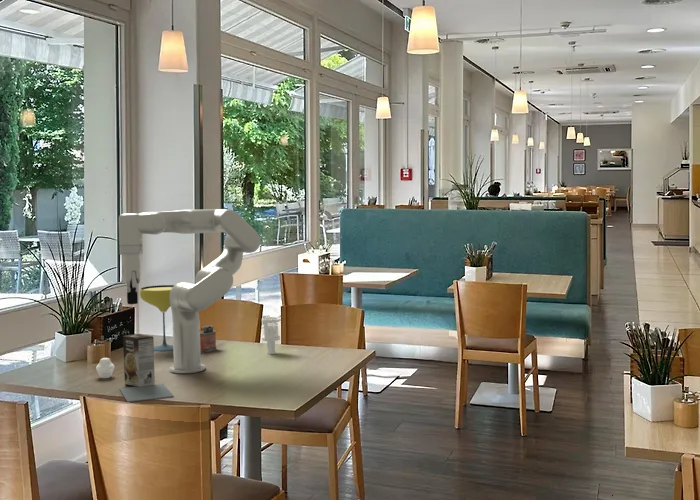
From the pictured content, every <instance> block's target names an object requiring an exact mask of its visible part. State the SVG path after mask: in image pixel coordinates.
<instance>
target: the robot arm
mask: <svg viewBox="0 0 700 500" xmlns="http://www.w3.org/2000/svg"><path fill="white" fill-rule="evenodd" d="M162 233H170V234H171V233H175V234H184V235H185V234H186V235H187V234H190V235H191V234H192V235H193V234H206V233H209V234H210V233H226V234H225V237H224V242H223V243H224V245H223V251H222V253H221V254H220V255H219V256H218V257H217V258H215V259H214V260H213V261H211V262H210V263H208V264H207V265H205V266H204V267H202V268H201V269H199V271H198V272H197V273H196V275H195V277H194V280H195V281H194V282H195V283H193V282H189V281H181V282H178V283H176V284H174V286H173V288H172V289H171V291H170V305H171V306H170V308H171V317H172V343H173V344H172V345H173V350H172V354H173V364H172V365H171V366H169V368H168V369H169V372H171V373H174V374H193V373H200V372H202V371H204V370H205V369H206V365H205V364H204V363H202V361H201V359H202V356H201V353H202V352H200V333H201V320H200V313H199V312H202V311H203V310H206V309H207V308H210V306H212V305H213V304H214V303H216V302H217V301H218V300H220V299H221V298H222V297H224V296H225V295H226V294H228V293H229V292H230V290H231V289H232V286H233V284H234V275H235V274H236V273H237V272H238V271H239V270H240V268H241V266H242V263H243V258H244V257H243V256H244V253H245V254H252V253H255V252H256V251H258V249H260V245H261V237H260V235H259V233H258V231H256V230H255V228H253V227H252V226H251V225H250V224H249V223H248V222H247V221H246V220H245V219H244V218H243V217H242V216H241V215H240V214H239V213H238V212H236V211H235V210H233V209H226V208H208V209H207V208H206V209H203V208H202V209H181V210H172V211H169V210H168V211H145V212H140V213H121V214H120V215H119V216H118V240H119V244H118V245H119V255H120V256H121V282H122V283H123V284H125V285H126V288H127V292H126V301H127V304H128V305H137V304H138V301H139V298H138V284H140V283H141V260H140V259H141V258H140V255H143V254H144V252H143V250H144V249H143V235H145V234H146V235H159V234H162Z"/></svg>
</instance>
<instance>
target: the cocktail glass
mask: <svg viewBox="0 0 700 500" xmlns="http://www.w3.org/2000/svg"><path fill="white" fill-rule="evenodd" d="M174 285H175V284H174ZM174 285H173V284H169V285H167V284H166V285H165V284H162V285H150V286H149V285H148V286H144V287H143V286H142V287H141V288H140V290H139V296H140V298H141V300H143V301H144V302H146V303H147V304H148V305H152V306H153V307H156V308H157V309H158V310H159V311H160V313H162V324H163V325H162V327H163V337H162V338H163V339H162V344H160V345H157V346H156V345H155V346H154V352H167V351H168V352H169V351H173V344H167V340H166V324H165V318H166V317H165V313H166V312H167V311H168V310H169V308H171V305H170V291H171V289H172V288H173V286H174Z"/></svg>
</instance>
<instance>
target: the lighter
mask: <svg viewBox="0 0 700 500" xmlns="http://www.w3.org/2000/svg"><path fill="white" fill-rule="evenodd" d="M216 334H217V331H216V330H214V325H205V326H200V352H201V353H208V352H212V351H215V350H217V344H216V343H217V339H216V336H217V335H216Z"/></svg>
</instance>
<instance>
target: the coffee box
mask: <svg viewBox="0 0 700 500" xmlns="http://www.w3.org/2000/svg"><path fill="white" fill-rule="evenodd" d="M154 345H155V344H154V336H153V335H147V334H139V333H138V334H128V335H123V336H122V348H123V349H122V350H123V368H124V369H123V371H124V372H123V373H124V384H126V385H128V386H132V387H142V386H148V385H156V382H155V381H156V380H155V351H154V347H155V346H154Z"/></svg>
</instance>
